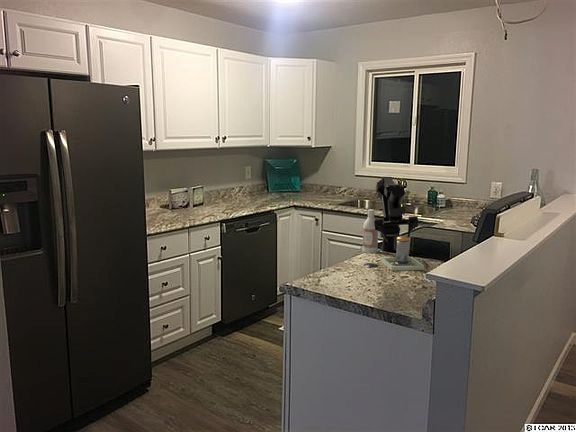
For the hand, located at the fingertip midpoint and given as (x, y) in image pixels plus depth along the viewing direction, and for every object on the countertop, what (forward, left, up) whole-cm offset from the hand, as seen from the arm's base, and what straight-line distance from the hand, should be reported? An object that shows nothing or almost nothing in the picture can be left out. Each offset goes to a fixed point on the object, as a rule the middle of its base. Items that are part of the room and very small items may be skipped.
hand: (397, 240), depth 199 cm
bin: (+8, 0, -10) cm, 12 cm away
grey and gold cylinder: (+8, 0, -9) cm, 12 cm away
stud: (+7, -13, -10) cm, 18 cm away
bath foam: (-19, -6, -10) cm, 22 cm away
